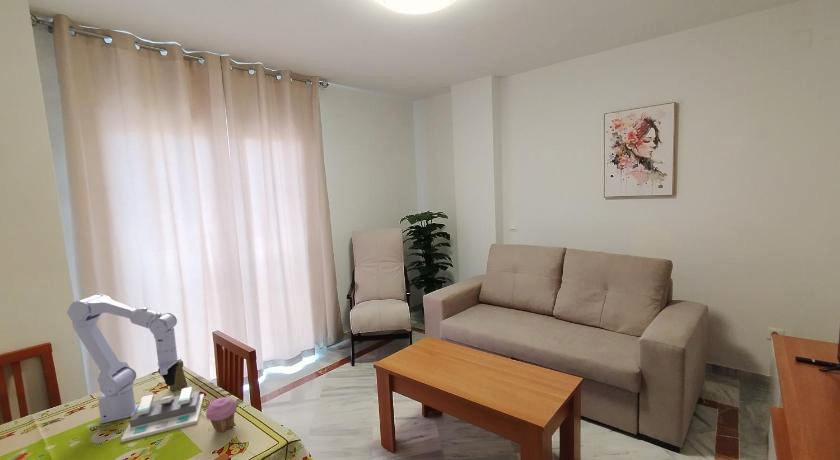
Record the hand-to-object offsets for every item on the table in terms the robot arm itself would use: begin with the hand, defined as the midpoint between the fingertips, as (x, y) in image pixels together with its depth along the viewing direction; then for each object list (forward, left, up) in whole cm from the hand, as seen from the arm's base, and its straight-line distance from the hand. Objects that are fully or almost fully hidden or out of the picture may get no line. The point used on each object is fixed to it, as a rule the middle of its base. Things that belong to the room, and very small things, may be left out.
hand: (170, 384), depth 133 cm
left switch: (-8, -2, -5) cm, 9 cm away
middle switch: (-2, -2, -5) cm, 6 cm away
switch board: (-2, -4, -10) cm, 11 cm away
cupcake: (+17, -20, -10) cm, 28 cm away
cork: (-2, +18, -10) cm, 21 cm away
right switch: (+4, -2, -5) cm, 7 cm away
